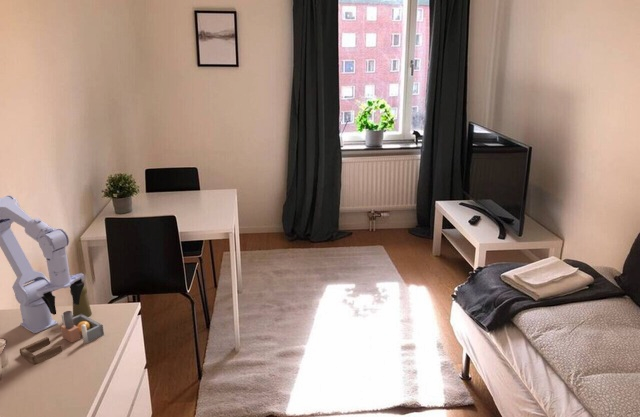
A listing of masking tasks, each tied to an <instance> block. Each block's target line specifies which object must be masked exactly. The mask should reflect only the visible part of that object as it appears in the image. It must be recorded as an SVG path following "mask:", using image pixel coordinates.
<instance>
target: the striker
mask: <svg viewBox="0 0 640 417" xmlns="http://www.w3.org/2000/svg"><path fill="white" fill-rule="evenodd" d="M62 314H63V315H64V321H65V325H63V324H62V326H60V329H61V334H62V338H63V339H64V340H66V341H68V342H69V343H74V342H76V341H79V340H80V339H81V333H80V332H79V327H77V326H75V325H74V323H73V311H71V310H66V311H64V312H63V313H62Z"/></svg>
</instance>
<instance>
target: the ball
mask: <svg viewBox="0 0 640 417" xmlns="http://www.w3.org/2000/svg"><path fill="white" fill-rule="evenodd" d="M83 324H85V325H86V329H87V330H89V329H90V324H89V323H88V322H87V321H82V322H80V323H79V324H78V325H77V327H79V332H80V335H82V329H81V325H83Z"/></svg>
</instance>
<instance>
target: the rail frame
mask: <svg viewBox="0 0 640 417" xmlns="http://www.w3.org/2000/svg"><path fill="white" fill-rule="evenodd" d="M50 344H51V341H50V338H49V337H48V336H46V337H44V338H41V339H39V340H37V341H35V342H33V343H30V344H28V345H26V346H24V347H22V348H19V354H20V356H22V357H23V358H24V359H26V360H27V361H29V362H30V363H32V364H33V365H37V364H38V363H41V362H43V361H45V360H47V359H49V358H51V357H53V356H56V355H57V354H59V353H61V352H63V347H62V345H61V344H57V345H55V346H52V347H50V348H48V349H46V350H43V351H42V352H40V353H38V354H33V352H35V351H37V350H39V349H42V348H44V347H46V346H48V345H50Z"/></svg>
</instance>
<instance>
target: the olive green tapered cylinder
mask: <svg viewBox="0 0 640 417" xmlns="http://www.w3.org/2000/svg"><path fill="white" fill-rule="evenodd" d="M69 291H70V295H71V296H72V292H71V289H70V290H69ZM87 293H88V288H87V286H86V285H85V284H84V287H83V289H82V292H81V295H80V301H79V305H76V304H74V302H73V301H72V317H75V316H77V315H80V314H83V315H85V316H86V317H88V318H90V317H91V316H92V315H93V312H92V309H91V306H90V302H89V299H88V296H87Z"/></svg>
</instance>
